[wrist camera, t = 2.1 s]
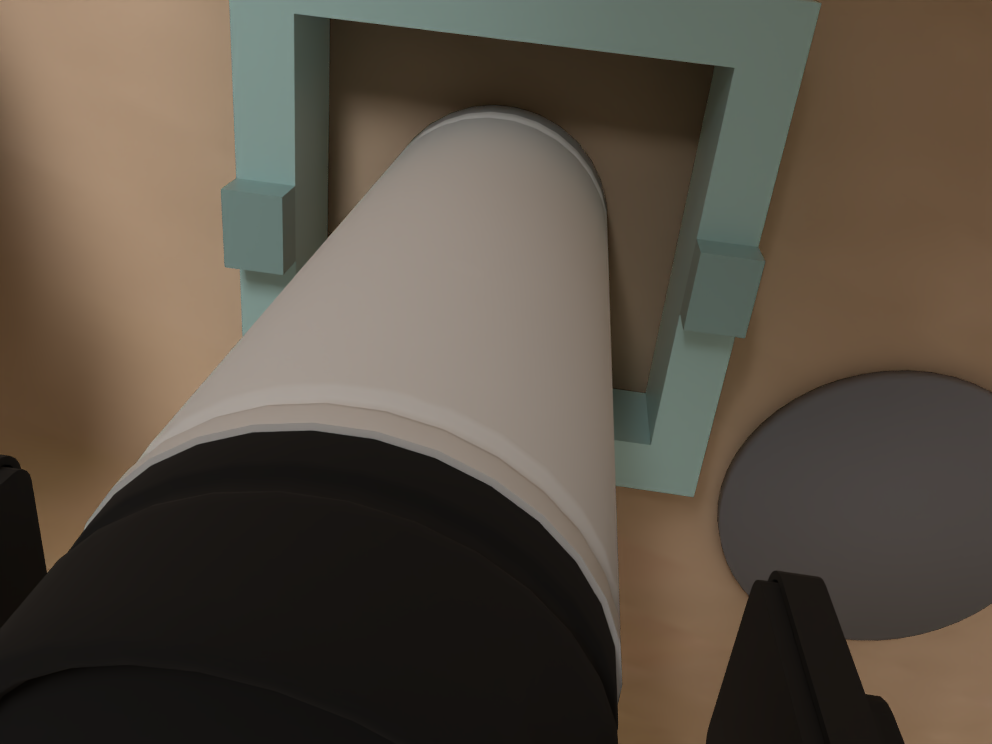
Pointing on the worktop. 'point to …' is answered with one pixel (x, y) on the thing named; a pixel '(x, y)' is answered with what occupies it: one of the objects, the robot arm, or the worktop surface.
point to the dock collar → (567, 23)
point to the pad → (871, 500)
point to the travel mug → (370, 490)
